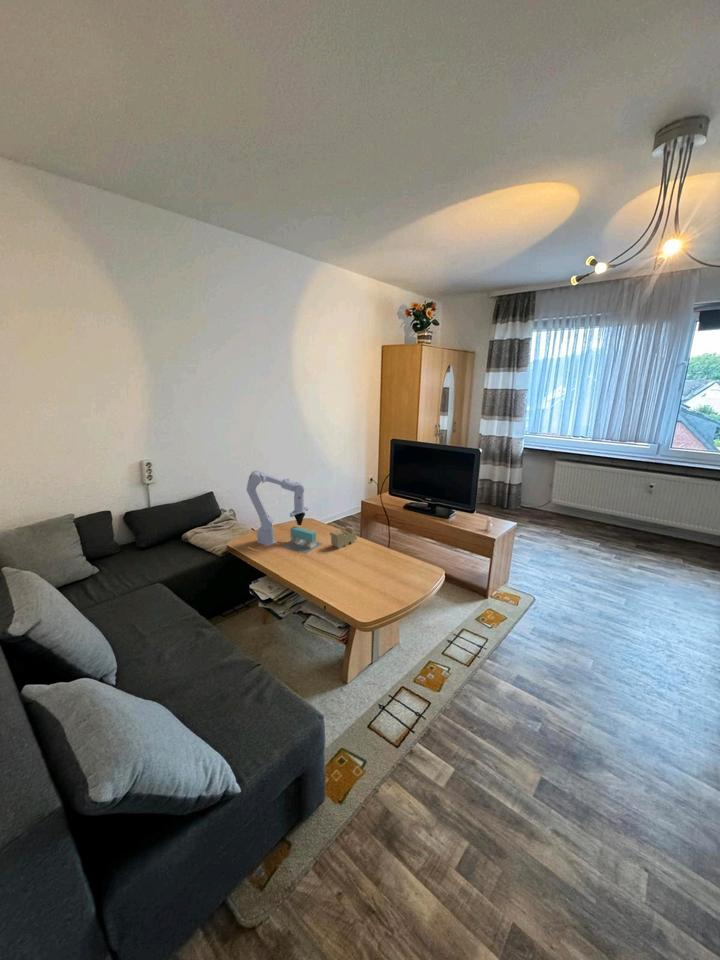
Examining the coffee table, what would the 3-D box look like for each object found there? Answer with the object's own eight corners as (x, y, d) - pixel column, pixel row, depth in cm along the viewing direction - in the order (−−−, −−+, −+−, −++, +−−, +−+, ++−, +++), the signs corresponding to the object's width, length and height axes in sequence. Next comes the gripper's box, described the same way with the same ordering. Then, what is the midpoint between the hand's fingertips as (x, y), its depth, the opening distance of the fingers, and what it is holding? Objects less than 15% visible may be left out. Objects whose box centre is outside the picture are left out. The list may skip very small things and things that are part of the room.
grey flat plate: (281, 547, 223) (281, 546, 223) (299, 537, 237) (299, 537, 237) (305, 554, 215) (305, 553, 214) (322, 544, 228) (322, 543, 228)
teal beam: (290, 536, 228) (290, 528, 227) (294, 534, 231) (294, 526, 230) (312, 542, 220) (311, 534, 219) (315, 540, 223) (315, 532, 222)
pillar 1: (290, 542, 228) (290, 536, 227) (296, 540, 232) (296, 533, 231) (297, 544, 226) (297, 538, 225) (302, 541, 230) (302, 535, 229)
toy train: (356, 542, 232) (357, 527, 229) (336, 551, 220) (336, 535, 217) (350, 540, 235) (350, 524, 233) (329, 548, 223) (329, 532, 221)
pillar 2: (304, 546, 223) (303, 540, 222) (309, 543, 227) (309, 537, 226) (310, 548, 221) (310, 542, 220) (316, 545, 225) (316, 539, 224)
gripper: (296, 507, 219) (296, 529, 222) (311, 501, 231) (312, 522, 234) (286, 505, 222) (287, 527, 226) (302, 499, 234) (303, 520, 238)
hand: (299, 524), depth 230 cm, fingers closed
